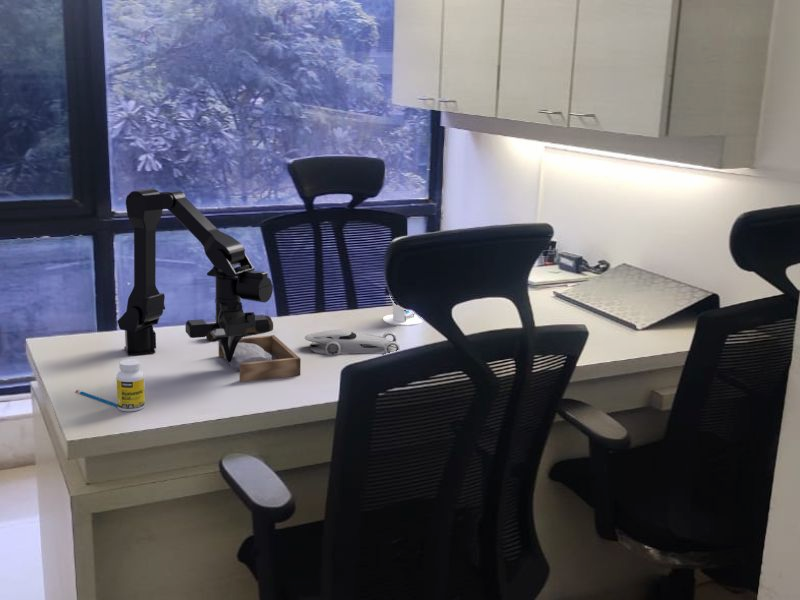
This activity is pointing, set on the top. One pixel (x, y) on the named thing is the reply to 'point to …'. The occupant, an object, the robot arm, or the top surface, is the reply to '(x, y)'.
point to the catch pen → (271, 368)
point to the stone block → (248, 354)
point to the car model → (351, 342)
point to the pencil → (96, 398)
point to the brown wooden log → (252, 330)
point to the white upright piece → (401, 317)
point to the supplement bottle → (130, 386)
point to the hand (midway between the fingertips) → (228, 361)
